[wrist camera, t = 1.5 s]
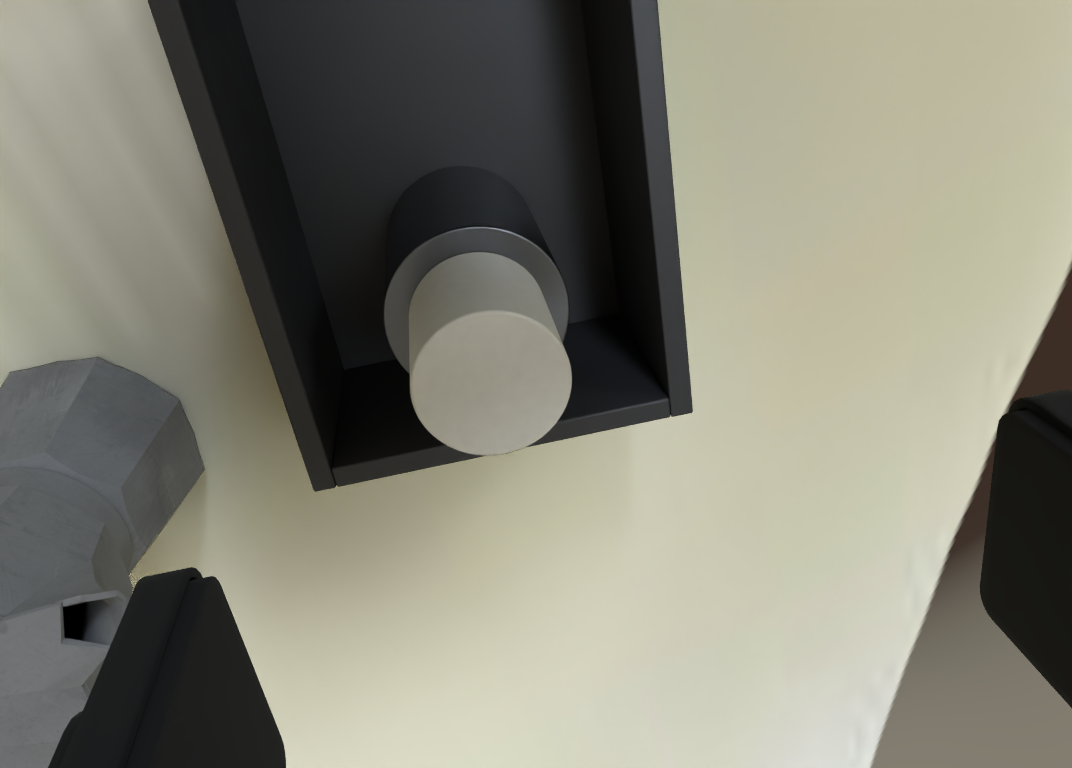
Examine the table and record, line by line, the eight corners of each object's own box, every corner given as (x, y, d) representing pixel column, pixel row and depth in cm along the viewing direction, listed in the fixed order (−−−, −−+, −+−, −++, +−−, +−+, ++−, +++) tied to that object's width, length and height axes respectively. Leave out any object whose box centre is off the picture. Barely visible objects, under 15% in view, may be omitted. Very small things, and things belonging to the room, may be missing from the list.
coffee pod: (433, 232, 26) (439, 290, 22) (565, 275, 28) (597, 337, 23) (391, 358, 28) (389, 435, 24) (518, 393, 29) (539, 472, 25)
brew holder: (412, 140, 34) (415, 199, 26) (554, 189, 35) (598, 260, 28) (369, 278, 36) (360, 372, 28) (504, 319, 38) (531, 419, 30)
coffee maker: (634, 319, 39) (693, 413, 31) (332, 381, 38) (314, 493, 30) (581, -137, 30) (643, -165, 23) (195, -68, 30) (121, -73, 22)
